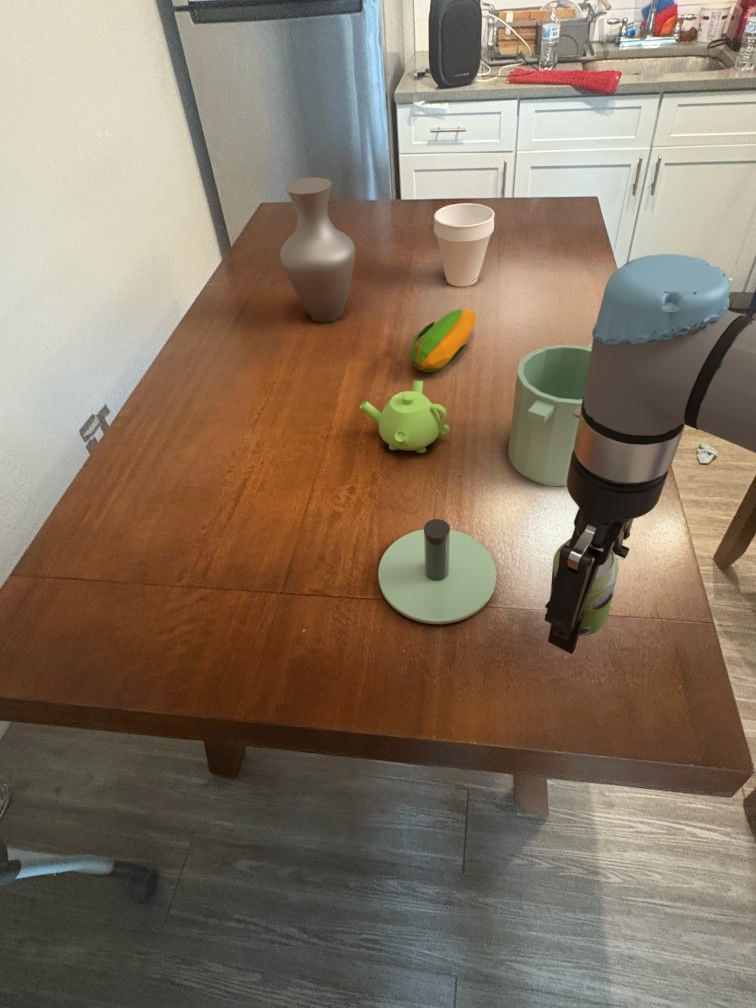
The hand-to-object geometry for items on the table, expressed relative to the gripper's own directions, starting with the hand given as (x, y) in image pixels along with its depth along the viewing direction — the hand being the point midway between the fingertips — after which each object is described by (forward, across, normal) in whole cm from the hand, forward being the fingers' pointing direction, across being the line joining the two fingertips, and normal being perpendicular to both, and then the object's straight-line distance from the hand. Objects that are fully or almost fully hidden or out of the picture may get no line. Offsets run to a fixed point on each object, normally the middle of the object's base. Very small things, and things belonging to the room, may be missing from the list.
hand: (577, 618), depth 65 cm
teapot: (+4, -19, -37) cm, 41 cm away
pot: (+4, -28, -16) cm, 32 cm away
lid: (+4, +1, -18) cm, 18 cm away
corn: (+4, -43, -45) cm, 62 cm away
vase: (+3, -43, -74) cm, 85 cm away
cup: (+4, -70, -58) cm, 91 cm away
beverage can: (+1, 0, 0) cm, 1 cm away
